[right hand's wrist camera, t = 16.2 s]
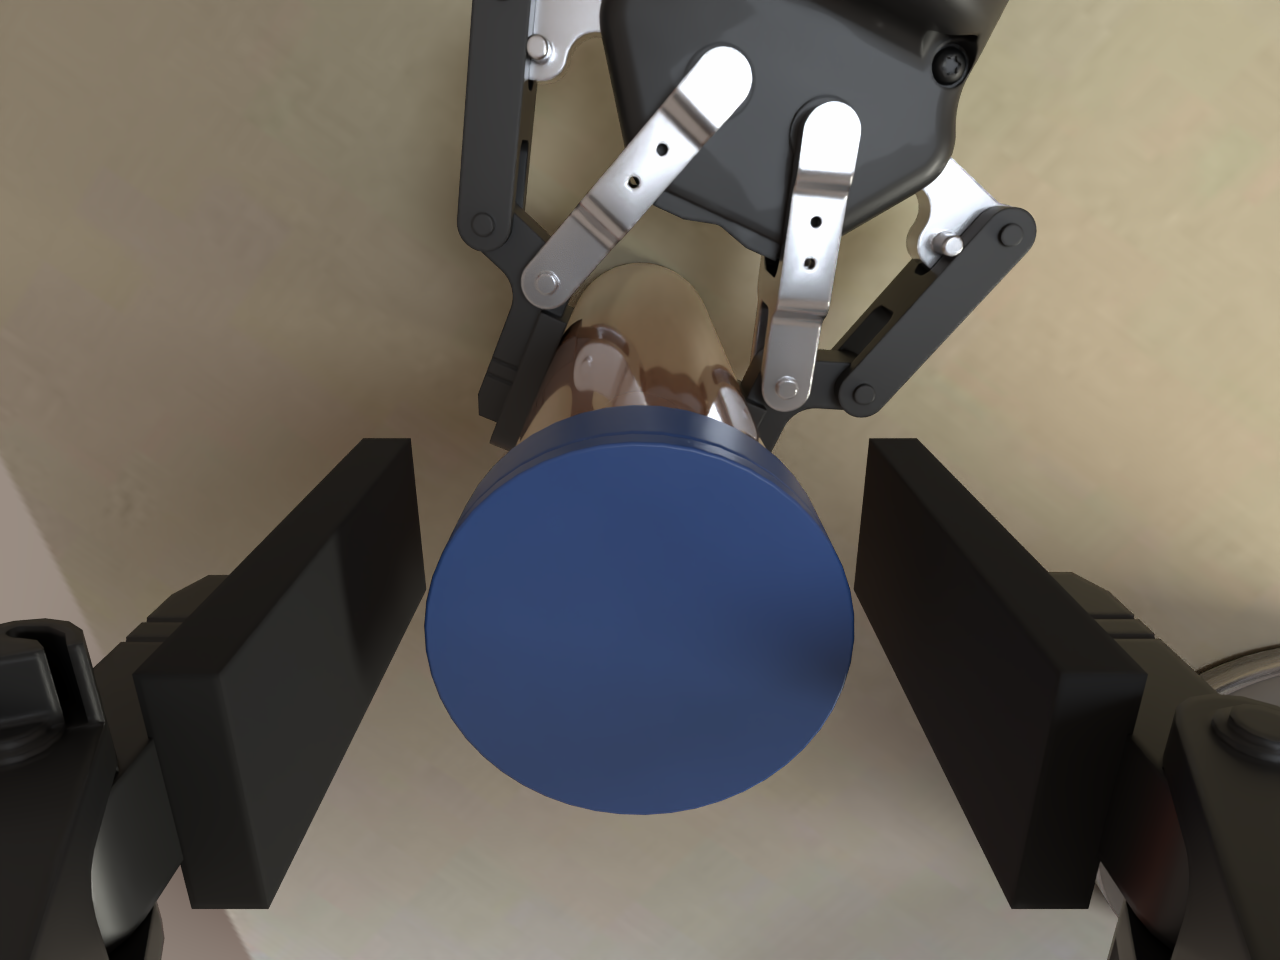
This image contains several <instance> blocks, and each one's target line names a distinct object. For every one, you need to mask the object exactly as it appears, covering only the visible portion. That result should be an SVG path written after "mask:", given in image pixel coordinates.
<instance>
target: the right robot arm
mask: <svg viewBox="0 0 1280 960" xmlns="http://www.w3.org/2000/svg"><path fill="white" fill-rule="evenodd" d="M425 591H426V583H425V573H424V564H423V554H422V544H421V534H420V525H419V515H418V505H417V496H416V486H415V476H414V467H413V457H412V447H411V438H363V439H362V440H361V441H360V442H359V443H358V444H357V445H356V446H355V447H354V448H353V449H352V450H351V451H350V452H349V453H348V454H347V455H346V457H345V458H344V459H343V460H342V461H341V462H340V463H339V464H338V465H337V466H336V467H335V468H334V469H333V470H332V471H331V472H330V473H329V474H328V475H327V476H326V477H325V478H324V479H323V480H322V481H321V482H320V483H319V484H318V485H317V486H316V487H315V488H314V489H313V490H312V491H311V492H310V493H309V494H308V495H307V496H306V497H305V498H304V499H303V500H302V501H301V502H300V503H299V504H298V505H297V506H296V507H295V508H294V510H293V511H292V512H291V513H290V514H289V515H288V516H287V517H286V518H285V519H284V520H283V521H282V522H281V523H280V524H279V525H278V526H277V527H276V528H275V529H274V530H273V531H272V532H271V533H270V534H269V535H268V536H267V537H266V538H265V539H264V540H263V541H262V542H261V543H260V544H259V545H258V546H257V547H256V548H255V549H254V550H253V551H252V552H251V553H250V554H249V555H248V556H247V557H246V558H245V559H244V560H243V561H242V562H241V564H240V565H239V566H238V567H237V568H236V569H235V570H234V571H233V572H232V573H231V574H230V575H208V576H206V577H204V578H202V579H200V580H199V581H197V582H195V583H193V584H191V585H189V586H187V587H185V588H183V589H182V590H180V591H178V592H176V593H174V594H172V595H171V596H170V597H169V598H168V599H167V600H165V601H164V602H163V603H162V604H161V605H160V606H159V607H158V608H157V609H156V610H155V611H154V612H153V613H152V614H151V615H149V616H148V617H147V622H142V623H141V624H140V625H139V626H138V627H137V628H136V629H134V630H133V631H132V632H131V633H130V634H129V635H128V636H127V637H126V642H121V643H120V644H118V645H117V646H116V647H115V648H114V649H113V650H112V651H111V652H110V653H109V654H108V655H107V656H106V657H105V658H103V659H102V660H101V661H100V662H99V663H98V664H97V665H96V666H95V667H94V668H93V667H92V663H91V659H90V656H89V652H88V648H87V645H86V641H85V638H84V634H83V630H82V629H80V628H79V627H77V626H75V625H74V624H72V623H71V622H69V621H62V620H54V619H46V618H44V619H32V620H20V621H12V622H7V623H3V624H0V960H161V957H162V951H163V944H164V931H163V924H162V918H161V915H160V911H159V908H158V904H157V899H158V898H159V896H160V895H161V893H162V892H163V890H164V889H165V887H166V886H167V884H168V883H169V881H170V879H171V878H172V876H173V875H174V873H175V872H176V870H177V869H178V867H179V866H180V865H181V868H182V872H183V876H184V880H185V884H186V888H187V892H188V896H189V900H190V904H191V908H192V909H269V907H270V905H271V903H272V901H273V899H274V897H275V895H276V893H277V891H278V889H279V886H280V884H281V882H282V880H283V878H284V876H285V874H286V872H287V870H288V868H289V866H290V864H291V862H292V860H293V858H294V856H295V854H296V852H297V850H298V848H299V846H300V844H301V842H302V840H303V838H304V836H305V834H306V832H307V830H308V828H309V826H310V824H311V822H312V820H313V818H314V816H315V814H316V812H317V810H318V807H319V805H320V803H321V801H322V799H323V797H324V795H325V793H326V791H327V789H328V787H329V785H330V783H331V781H332V779H333V777H334V775H335V773H336V771H337V769H338V767H339V765H340V763H341V761H342V759H343V757H344V755H345V753H346V751H347V749H348V747H349V745H350V743H351V741H352V739H353V737H354V735H355V733H356V731H357V729H358V726H359V724H360V722H361V720H362V718H363V716H364V714H365V712H366V710H367V708H368V706H369V704H370V702H371V700H372V698H373V696H374V694H375V692H376V690H377V688H378V686H379V684H380V682H381V680H382V678H383V676H384V674H385V672H386V670H387V668H388V666H389V664H390V662H391V660H392V658H393V656H394V654H395V652H396V650H397V648H398V645H399V643H400V641H401V639H402V637H403V635H404V633H405V631H406V629H407V627H408V625H409V623H410V621H411V619H412V617H413V615H414V613H415V611H416V609H417V607H418V605H419V603H420V601H421V599H422V597H423V595H424V593H425ZM854 591H855V593H856V595H857V597H858V599H859V601H860V603H861V605H862V607H863V609H864V611H865V613H866V615H867V617H868V619H869V621H870V623H871V625H872V627H873V629H874V631H875V633H876V635H877V637H878V639H879V641H880V643H881V645H882V648H883V650H884V652H885V654H886V656H887V658H888V660H889V662H890V664H891V666H892V668H893V670H894V672H895V674H896V676H897V678H898V680H899V682H900V684H901V686H902V688H903V690H904V692H905V694H906V696H907V698H908V700H909V702H910V704H911V706H912V708H913V710H914V712H915V714H916V716H917V718H918V720H919V722H920V724H921V726H922V729H923V731H924V733H925V735H926V737H927V739H928V741H929V743H930V745H931V747H932V749H933V751H934V753H935V755H936V757H937V759H938V761H939V763H940V765H941V767H942V769H943V771H944V773H945V775H946V777H947V779H948V781H949V783H950V785H951V787H952V789H953V791H954V793H955V795H956V797H957V799H958V801H959V803H960V805H961V807H962V810H963V812H964V814H965V816H966V818H967V820H968V822H969V824H970V826H971V828H972V830H973V832H974V834H975V836H976V838H977V840H978V842H979V844H980V846H981V848H982V850H983V852H984V854H985V856H986V858H987V860H988V862H989V864H990V866H991V868H992V870H993V872H994V874H995V876H996V878H997V880H998V882H999V884H1000V886H1001V888H1002V891H1003V893H1004V895H1005V897H1006V899H1007V901H1008V903H1009V905H1010V907H1011V909H1088V908H1089V904H1090V900H1091V896H1092V892H1093V888H1094V884H1095V883H1096V884H1097V886H1098V888H1099V889H1100V891H1101V892H1102V894H1103V896H1104V897H1105V899H1106V900H1107V902H1108V904H1109V905H1110V907H1111V908H1112V910H1113V911H1114V912H1115V914H1116V915H1117V917H1118V922H1117V926H1116V929H1115V933H1114V937H1113V940H1112V944H1111V948H1110V951H1109V955H1108V958H1107V960H1280V648H1277V649H1272V650H1266V651H1262V652H1258V653H1255V654H1251V655H1247V656H1244V657H1241V658H1238V659H1235V660H1232V661H1230V662H1227V663H1224V664H1222V665H1219V666H1217V667H1215V668H1212V669H1210V670H1208V671H1206V672H1204V673H1202V674H1200V675H1198V674H1197V673H1196V672H1195V671H1194V670H1193V669H1192V668H1191V667H1190V666H1189V665H1187V664H1186V663H1185V662H1184V661H1183V660H1182V659H1181V658H1180V657H1179V656H1178V655H1177V654H1176V653H1175V652H1173V651H1172V650H1171V649H1170V648H1169V647H1168V646H1167V645H1166V644H1165V643H1164V642H1163V641H1162V640H1161V639H1155V637H1154V633H1153V632H1152V631H1151V630H1150V629H1149V628H1148V627H1147V626H1145V625H1144V624H1143V623H1142V622H1141V621H1140V620H1139V619H1134V614H1132V613H1131V612H1130V611H1129V610H1128V609H1127V608H1126V607H1125V606H1124V605H1123V604H1122V603H1121V602H1120V601H1118V600H1117V599H1116V598H1115V597H1114V596H1113V595H1112V594H1111V593H1110V592H1109V591H1107V590H1105V589H1103V588H1101V587H1099V586H1097V585H1095V584H1093V583H1091V582H1090V581H1088V580H1086V579H1084V578H1082V577H1080V576H1078V575H1076V574H1074V573H1072V572H1047V571H1046V570H1045V569H1044V568H1043V567H1042V566H1041V565H1040V564H1039V562H1038V561H1037V560H1036V559H1035V558H1034V557H1033V556H1032V555H1031V554H1030V553H1029V552H1028V551H1027V550H1026V549H1025V548H1024V547H1023V546H1022V545H1021V544H1020V543H1019V542H1018V541H1017V540H1016V539H1015V538H1014V537H1013V536H1012V535H1011V534H1010V533H1009V532H1008V531H1007V530H1006V529H1005V528H1004V527H1003V526H1002V525H1001V524H1000V523H999V522H998V521H997V520H996V519H995V518H994V517H993V516H992V515H991V514H990V513H989V512H988V511H987V510H986V508H985V507H984V506H983V505H982V504H981V503H980V502H979V501H978V500H977V499H976V498H975V497H974V496H973V495H972V494H971V493H970V492H969V491H968V490H967V489H966V488H965V487H964V486H963V485H962V484H961V483H960V482H959V481H958V480H957V479H956V478H955V477H954V476H953V475H952V474H951V473H950V472H949V471H948V470H947V469H946V468H945V467H944V466H943V465H942V464H941V463H940V462H939V461H938V460H937V459H936V458H935V457H934V455H933V454H932V453H931V452H930V451H929V450H928V449H927V448H926V447H925V446H924V445H923V444H922V443H921V442H920V441H919V440H918V439H917V438H869V447H868V457H867V467H866V476H865V486H864V496H863V505H862V515H861V525H860V534H859V544H858V554H857V564H856V573H855V583H854Z"/></svg>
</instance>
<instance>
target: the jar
mask: <svg viewBox="0 0 1280 960" xmlns="http://www.w3.org/2000/svg"><path fill="white" fill-rule="evenodd" d="M629 405H645V406H663V407H669V408H675V409H682V410H687V411H691V412H694V413H697V414H701V415H704V416H708V417H711V418H714V419H716V420H718V421H720V422H723V423H725V424H727V425H729V426H732V427H734V428H736V429H738V430H739V431H741V432H743V433H744V434H746V435H747V436H749V437H751V438H752V439H754V440H756V441H757V442H759V443H760V444H761V445H762V446H764V447H765V445H764V443H763V440H762V438H761V436H760V433H759V431H758V429H757V426H756V424H755V422H754V419H753V417H752V415H751V412H750V410H749V408H748V405H747V403H746V401H745V398H744V396H743V394H742V391H741V389H740V387H739V384H738V382H737V380H736V377H735V375H734V373H733V370H732V368H731V366H730V363H729V361H728V359H727V356H726V354H725V352H724V349H723V347H722V345H721V342H720V340H719V338H718V335H717V333H716V331H715V328H714V326H713V324H712V321H711V319H710V317H709V314H708V312H707V310H706V307H705V305H704V303H703V301H702V299H701V297H700V296H699V294H698V293H697V291H696V290H695V289H694V287H693V286H692V285H691V284H690V283H689V282H688V281H687V280H686V279H684V278H683V277H682V276H680V275H679V274H677V273H676V272H674V271H672V270H670V269H668V268H665V267H663V266H659V265H656V264H650V263H630V264H624V265H621V266H618V267H615V268H613V269H610V270H608V271H606V272H605V273H603V274H601V275H600V276H598V277H597V278H596V279H595V280H594V281H592V282H591V283H590V284H589V286H588V287H587V288H586V289H585V290H584V292H583V293H582V294H581V296H580V298H579V300H578V302H577V303H576V306H575V308H574V310H573V313H572V315H571V317H570V319H569V322H568V324H567V327H566V329H565V332H564V334H563V336H562V339H561V341H560V343H559V346H558V348H557V350H556V353H555V355H554V356H553V359H552V361H551V363H550V365H549V368H548V370H547V372H546V375H545V377H544V379H543V382H542V384H541V386H540V388H539V391H538V393H537V395H536V398H535V400H534V402H533V405H532V407H531V409H530V411H529V414H528V416H527V418H526V421H525V423H524V425H523V428H522V430H521V432H520V434H519V437H518V439H517V441H516V444H515V446H517V445H518V444H520V443H521V442H522V441H524V440H525V439H527V438H528V437H529V436H531V435H532V434H534V433H536V432H538V431H540V430H542V429H544V428H546V427H548V426H550V425H552V424H553V423H555V422H558V421H561V420H564V419H566V418H569V417H572V416H575V415H577V414H580V413H584V412H589V411H593V410H598V409H602V408H607V407H618V406H629ZM515 446H514V447H515ZM765 448H766V447H765Z"/></svg>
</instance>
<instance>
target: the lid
mask: <svg viewBox="0 0 1280 960" xmlns="http://www.w3.org/2000/svg"><path fill="white" fill-rule="evenodd" d="M424 629H425V644H426V653H427V658H428V662H429V667H430V671H431V675H432V678H433V680H434V683H435V686H436V688H437V691H438V694H439V696H440V699H441V700H442V702H443V704H444V706H445V708H446V710H447V711H448V713H449V715H450V717H451V719H452V720H453V721H454V723H455V724H456V726H457V727H458V728H459V730H460V731H461V732H462V734H463V735H464V736H465V738H466V739H467V740H468V741H469V742H470V743H471V744H472V745H473V746H474V747H475V748H476V749H477V750H478V751H479V753H480V754H481V755H482V756H483V757H485V758H486V759H487V760H488V761H490V762H491V763H492V764H493V765H494V766H496V767H497V768H498V769H499V770H501V771H502V772H503V773H505V774H506V775H508V776H510V777H511V778H513V779H514V780H516V781H517V782H519V783H521V784H522V785H524V786H526V787H528V788H530V789H532V790H534V791H536V792H538V793H540V794H542V795H544V796H547V797H549V798H552V799H555V800H558V801H561V802H563V803H566V804H569V805H573V806H577V807H581V808H585V809H590V810H594V811H601V812H608V813H616V814H636V815H649V814H662V813H673V812H678V811H684V810H689V809H695V808H699V807H702V806H706V805H709V804H712V803H716V802H719V801H722V800H724V799H727V798H729V797H732V796H734V795H736V794H739V793H741V792H744V791H746V790H747V789H749V788H751V787H753V786H755V785H756V784H758V783H760V782H762V781H764V780H765V779H767V778H768V777H770V776H771V775H773V774H774V773H775V772H777V771H778V770H780V769H781V768H782V767H784V766H785V765H786V764H788V763H789V762H790V761H791V760H792V759H793V758H794V757H795V756H796V755H797V754H798V753H800V752H801V751H802V750H803V749H804V748H805V747H806V746H807V744H808V743H809V742H810V741H811V740H812V738H813V737H814V736H815V735H816V734H817V733H818V731H819V730H820V729H821V727H822V726H823V724H824V723H825V721H826V720H827V718H828V716H829V715H830V713H831V712H832V710H833V708H834V706H835V704H836V702H837V700H838V698H839V696H840V693H841V691H842V689H843V687H844V684H845V680H846V677H847V674H848V670H849V667H850V664H851V657H852V651H853V644H854V611H853V605H852V598H851V592H850V588H849V585H848V582H847V579H846V575H845V572H844V569H843V566H842V564H841V562H840V560H839V558H838V556H837V554H836V552H835V550H834V548H833V546H832V544H831V542H830V540H829V538H828V536H827V533H826V531H825V529H824V527H823V525H822V523H821V521H820V519H819V517H818V515H817V513H816V511H815V509H814V507H813V505H812V503H811V501H810V499H809V497H808V495H807V494H806V492H805V491H804V489H803V488H802V487H801V485H800V484H799V482H798V481H797V479H796V478H795V476H794V475H793V474H792V473H791V472H790V471H789V470H788V469H787V468H786V467H785V465H784V464H783V463H782V462H781V461H780V460H779V459H778V458H777V457H776V456H775V455H773V454H772V453H771V452H770V451H768V450H767V449H766V448H765V447H764V446H762V445H761V444H760V443H759V442H757V441H756V440H754V439H752V438H751V437H749V436H747V435H746V434H744V433H743V432H741V431H739V430H738V429H736V428H734V427H732V426H729V425H727V424H725V423H723V422H720V421H718V420H716V419H714V418H711V417H708V416H704V415H701V414H697V413H694V412H691V411H687V410H682V409H675V408H669V407H663V406H645V405H629V406H618V407H607V408H602V409H598V410H593V411H589V412H584V413H580V414H577V415H575V416H572V417H569V418H566V419H564V420H561V421H558V422H555V423H553V424H552V425H550V426H548V427H546V428H544V429H542V430H540V431H538V432H536V433H534V434H532V435H531V436H529V437H528V438H527V439H525V440H524V441H522V442H521V443H520V444H518V445H517V446H515V447H514V448H512V449H511V450H510V451H509V452H508V453H507V454H506V455H505V456H504V457H503V458H501V459H500V460H499V461H498V462H497V463H496V464H495V465H494V466H493V467H492V468H491V470H490V471H489V472H488V473H487V475H486V476H485V477H484V478H483V479H482V481H481V482H480V483H479V484H478V486H477V488H476V489H475V491H474V493H473V494H472V496H471V498H470V499H469V501H468V503H467V504H466V506H465V508H464V510H463V512H462V514H461V516H460V518H459V520H458V522H457V524H456V526H455V528H454V530H453V532H452V534H451V536H450V538H449V541H448V543H447V544H446V546H445V548H444V550H443V552H442V555H441V557H440V559H439V562H438V564H437V567H436V569H435V572H434V574H433V576H432V580H431V584H430V589H429V593H428V597H427V601H426V612H425V623H424Z"/></svg>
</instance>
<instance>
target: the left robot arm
mask: <svg viewBox="0 0 1280 960" xmlns="http://www.w3.org/2000/svg"><path fill="white" fill-rule="evenodd" d="M1008 1H1009V0H472V14H471V28H470V43H469V57H468V71H467V86H466V100H465V114H464V129H463V143H462V157H461V171H460V186H459V200H458V214H457V227H458V231H459V234H460V236H461V238H462V239H463V241H464V242H465V243H466V244H467V245H468V246H470V247H471V248H473V249H475V250H478V251H481V252H482V253H483V254H484V255H485V256H487V257H488V258H489V259H490V260H491V261H492V262H493V263H494V264H495V265H496V266H497V267H498V268H500V269H501V270H502V271H503V273H504V274H505V275H506V276H507V278H508V280H509V282H510V284H511V287H512V292H513V302H512V306H511V309H510V312H509V314H508V317H507V320H506V322H505V325H504V328H503V330H502V333H501V336H500V338H499V341H498V343H497V346H496V349H495V351H494V354H493V357H492V359H491V362H490V364H489V367H488V370H487V373H486V375H485V378H484V380H483V383H482V385H481V388H480V391H479V393H478V402H479V415H480V416H483V417H485V418H488V419H490V420H493V421H495V422H497V424H496V426H495V429H494V432H493V434H492V437H491V440H490V444H493V445H495V446H498V447H500V448H503V449H505V450H508V451H510V450H511V449H512V448H514V446H515V444H516V441H517V439H518V437H519V434H520V432H521V430H522V428H523V425H524V423H525V421H526V418H527V416H528V414H529V411H530V409H531V407H532V405H533V402H534V400H535V398H536V395H537V393H538V391H539V388H540V386H541V384H542V382H543V379H544V377H545V375H546V372H547V370H548V368H549V365H550V363H551V361H552V359H553V356H554V355H555V353H556V350H557V348H558V346H559V343H560V341H561V339H562V336H563V334H564V332H565V329H566V327H567V324H568V322H569V319H570V317H571V314H572V312H573V310H574V308H573V307H570V306H568V303H569V300H570V298H571V295H572V294H573V293H574V292H575V291H576V290H577V288H578V287H579V286H580V285H581V284H582V283H583V282H584V280H585V279H586V278H587V277H588V276H589V275H590V274H591V272H592V271H593V270H594V269H595V268H596V267H597V266H598V264H599V263H600V262H601V261H602V260H603V259H604V258H605V256H606V255H607V254H608V253H609V252H610V251H611V250H612V248H613V247H614V246H615V245H616V244H617V243H618V242H619V241H620V240H621V239H622V238H623V237H624V236H625V235H626V234H627V233H628V232H629V230H630V229H631V228H632V227H633V226H634V225H635V224H636V222H637V221H638V220H639V219H640V218H641V217H642V216H643V214H644V213H645V212H646V211H647V210H648V209H649V208H650V206H651V205H652V204H653V205H654V206H656V207H658V208H660V209H663V210H665V211H667V212H669V213H671V214H673V215H676V216H678V217H680V218H682V219H686V220H692V221H698V222H705V223H711V224H717V225H719V226H721V227H722V228H723V229H724V230H726V231H727V232H728V233H729V234H730V235H732V236H733V237H734V238H735V239H736V240H737V241H739V242H740V243H741V244H742V245H743V246H744V247H746V248H747V249H750V250H752V251H754V252H756V253H758V254H760V255H761V261H760V269H759V277H758V306H757V313H756V321H755V328H754V336H753V343H752V351H751V359H750V366H749V368H748V370H747V372H746V374H745V376H744V378H743V380H742V382H741V381H739V380H737V379H736V380H737V382H738V384H739V387H740V389H741V391H742V394H743V396H744V398H745V401H746V403H747V405H748V408H749V410H750V412H751V415H752V417H753V419H754V422H755V424H756V426H757V429H758V431H759V433H760V436H761V438H762V440H763V443H764V445H765V447H766V449H767V450H768V451H770V452H771V451H772V449H773V448H774V446H775V444H776V442H777V440H778V438H779V436H780V434H781V432H782V430H783V428H784V426H785V425H786V423H787V422H788V421H789V419H790V418H791V417H793V416H794V415H795V414H797V413H798V412H800V411H803V410H806V409H811V408H821V409H838V410H844V411H845V412H846V413H848V414H849V415H852V416H854V417H868V416H871V415H873V414H875V413H877V412H878V411H879V410H880V409H881V408H882V407H883V406H884V405H885V404H886V403H887V402H888V401H889V400H890V399H891V398H892V397H893V395H894V394H895V393H896V392H897V391H898V390H899V389H900V388H901V387H902V386H903V385H904V384H905V383H906V382H907V380H908V379H909V378H910V377H911V376H912V375H913V374H914V373H915V372H916V371H917V370H918V369H919V368H920V367H921V365H922V364H923V363H924V362H925V361H926V360H927V359H928V358H929V357H930V356H931V355H932V354H933V353H934V352H935V350H936V349H937V348H938V347H939V346H940V345H941V344H942V343H943V342H944V341H945V340H946V339H947V338H948V337H949V336H950V334H951V333H952V332H953V331H954V330H955V329H956V328H957V327H958V326H959V325H960V324H961V323H962V322H963V321H964V319H965V318H966V317H967V316H968V315H969V314H970V313H971V312H972V311H973V310H974V309H975V308H976V307H977V306H978V304H979V303H980V302H981V301H982V300H983V299H984V298H985V297H986V296H987V295H988V294H989V293H990V292H991V291H992V290H993V288H994V287H995V286H996V285H997V284H998V283H999V282H1000V281H1001V280H1002V279H1003V278H1004V277H1005V276H1006V275H1007V273H1008V272H1009V271H1010V270H1011V269H1012V268H1013V267H1014V266H1015V265H1016V264H1017V263H1018V262H1019V261H1020V260H1021V258H1022V257H1023V256H1024V255H1025V254H1026V253H1027V252H1028V251H1029V250H1030V248H1031V247H1032V245H1033V243H1034V241H1035V237H1036V224H1035V221H1034V218H1033V217H1032V216H1031V214H1030V213H1029V212H1027V211H1026V210H1024V209H1022V208H1017V207H1012V206H1009V205H1005V204H1001V203H999V202H997V201H996V200H995V199H994V198H993V197H992V196H991V195H990V194H989V193H988V192H987V191H986V190H985V189H984V188H983V187H982V186H981V185H980V184H979V183H978V182H977V181H975V180H974V179H973V178H972V177H971V176H970V175H969V174H968V173H967V172H966V171H965V170H964V169H963V168H962V167H961V166H960V165H959V164H958V163H957V162H956V161H955V160H953V159H952V158H951V155H952V152H953V149H954V145H955V136H956V113H957V107H958V102H959V98H960V95H961V92H962V89H963V86H964V84H965V82H966V80H967V78H968V76H969V74H970V72H971V71H972V69H973V67H974V65H975V64H976V62H977V60H978V58H979V56H980V55H981V53H982V51H983V49H984V47H985V45H986V43H987V41H988V39H989V37H990V36H991V34H992V32H993V30H994V28H995V26H996V24H997V22H998V20H999V18H1000V16H1001V14H1002V13H1003V11H1004V9H1005V7H1006V5H1007V3H1008ZM596 37H597V38H602V40H603V45H604V50H605V55H606V59H607V64H608V69H609V74H610V79H611V83H612V88H613V93H614V98H615V102H616V107H617V112H618V117H619V122H620V126H621V131H622V136H623V141H624V145H625V149H624V150H623V151H622V153H621V154H620V155H619V156H618V157H617V159H616V160H615V161H614V162H613V163H612V164H611V166H610V167H609V168H608V169H607V170H606V172H605V173H604V174H603V175H602V176H601V178H600V179H599V180H598V181H597V182H596V183H595V185H594V186H593V187H592V188H591V189H590V191H589V192H588V193H587V194H586V195H585V197H584V198H583V199H582V200H581V201H580V203H579V204H578V205H577V206H576V208H575V209H574V210H573V211H572V213H571V214H570V215H569V216H568V217H567V219H566V220H565V221H564V222H563V223H562V224H561V226H560V227H559V228H558V229H557V230H556V232H555V233H554V234H553V235H552V236H550V235H549V234H548V233H547V232H546V231H545V230H544V229H543V228H542V227H541V226H540V225H539V224H537V223H536V222H535V221H534V220H533V219H532V218H531V217H530V216H529V215H528V214H527V213H526V212H525V204H526V194H527V183H528V173H529V163H530V152H531V142H532V132H533V122H534V111H535V101H536V91H537V83H539V84H552V83H555V82H557V81H559V80H560V79H561V78H562V77H563V76H564V75H565V74H566V72H567V71H568V68H569V66H570V62H571V58H572V55H573V53H574V51H575V49H576V48H577V47H578V46H579V45H580V44H581V43H582V42H583V41H585V40H587V39H590V38H596ZM631 177H633V178H634V180H635V182H636V184H633V183H631V181H630V178H631ZM914 194H916V196H917V199H918V203H919V210H918V215H917V218H916V220H915V222H914V224H913V225H912V227H911V228H910V230H909V232H908V235H907V239H906V247H907V251H908V253H909V255H910V256H911V258H912V259H911V261H910V262H909V263H908V264H907V265H906V266H905V267H904V268H903V270H902V271H901V272H900V273H899V274H898V275H897V276H896V277H895V279H894V280H893V281H892V282H891V283H890V284H889V285H888V286H887V288H886V289H885V290H884V291H883V292H882V293H881V294H880V295H879V297H878V298H877V299H876V300H875V301H874V302H873V303H872V304H871V306H870V307H869V308H868V309H867V310H866V311H865V312H864V313H863V315H862V316H861V317H860V318H859V319H858V320H857V321H856V322H855V324H854V325H853V326H852V327H851V328H850V329H849V330H848V331H847V332H846V334H845V335H844V336H843V337H842V338H841V339H840V340H839V341H838V343H837V344H836V345H835V346H834V347H833V348H832V349H831V350H821V349H818V344H819V338H820V332H821V326H822V322H823V320H824V318H825V317H826V315H827V313H828V310H829V306H830V301H831V295H832V289H833V283H834V277H835V270H836V264H837V258H838V252H839V246H840V240H841V236H843V235H845V234H846V233H848V232H850V231H852V230H853V229H855V228H857V227H859V226H860V225H862V224H864V223H865V222H867V221H869V220H871V219H872V218H874V217H876V216H877V215H879V214H881V213H883V212H884V211H886V210H888V209H890V208H891V207H893V206H895V205H896V204H898V203H900V202H902V201H903V200H905V199H907V198H908V197H910V196H912V195H914Z"/></svg>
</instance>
